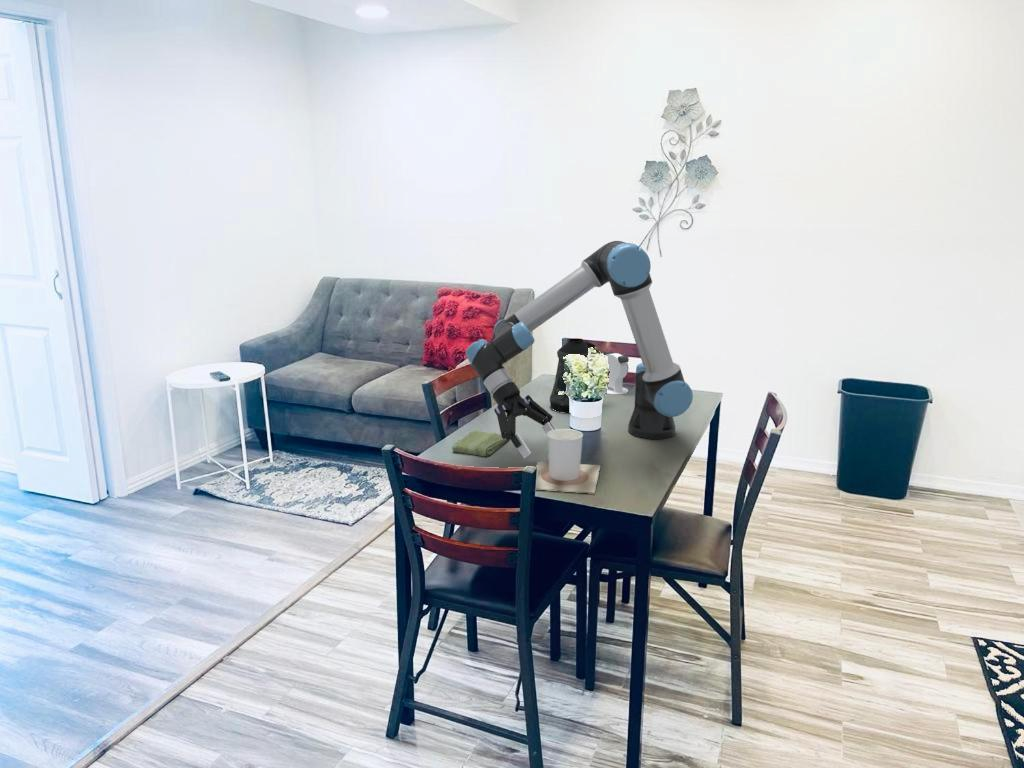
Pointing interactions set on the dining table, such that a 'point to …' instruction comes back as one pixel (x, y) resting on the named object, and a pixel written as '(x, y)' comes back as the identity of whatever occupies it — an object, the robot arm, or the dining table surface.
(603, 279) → the robot arm
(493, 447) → the washcloth
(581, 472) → the card
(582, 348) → the black tall bulky piece
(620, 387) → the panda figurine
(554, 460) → the white tapered cylinder
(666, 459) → the dining table surface
